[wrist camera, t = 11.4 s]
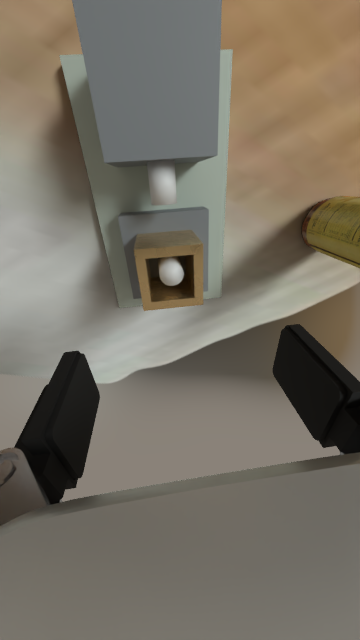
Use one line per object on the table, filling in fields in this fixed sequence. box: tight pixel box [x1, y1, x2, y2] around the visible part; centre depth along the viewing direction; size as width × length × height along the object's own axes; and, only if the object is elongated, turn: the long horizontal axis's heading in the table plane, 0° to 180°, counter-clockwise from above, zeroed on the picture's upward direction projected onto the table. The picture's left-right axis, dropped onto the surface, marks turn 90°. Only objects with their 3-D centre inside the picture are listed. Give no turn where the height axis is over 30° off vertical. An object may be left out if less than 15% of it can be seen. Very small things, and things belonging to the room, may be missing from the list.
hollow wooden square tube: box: [134, 230, 203, 311], centre depth 22 cm, size 6×6×6 cm
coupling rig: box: [59, 0, 233, 308], centre depth 21 cm, size 14×23×9 cm, turn 4°
